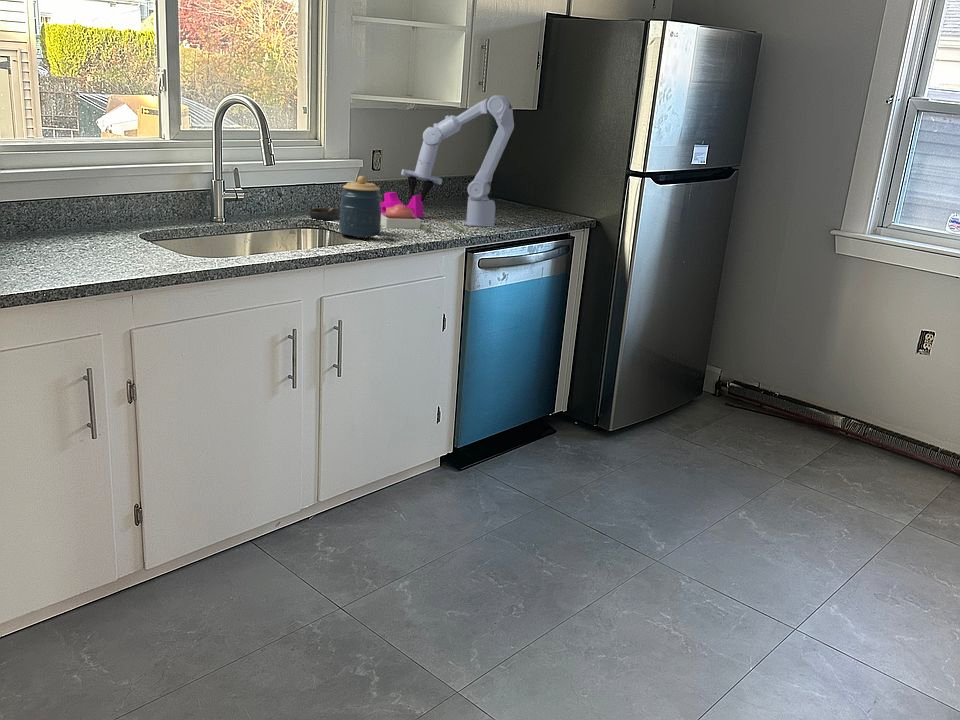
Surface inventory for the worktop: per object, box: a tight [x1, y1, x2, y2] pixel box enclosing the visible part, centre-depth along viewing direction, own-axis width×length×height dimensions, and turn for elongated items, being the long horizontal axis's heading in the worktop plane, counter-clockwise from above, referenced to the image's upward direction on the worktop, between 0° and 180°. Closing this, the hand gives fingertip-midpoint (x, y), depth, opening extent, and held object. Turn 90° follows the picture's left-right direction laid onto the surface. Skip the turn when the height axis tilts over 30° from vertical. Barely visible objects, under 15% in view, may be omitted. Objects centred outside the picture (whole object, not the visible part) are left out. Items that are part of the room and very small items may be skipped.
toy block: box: [380, 191, 424, 218], centre depth 312 cm, size 15×6×8 cm, turn 52°
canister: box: [338, 175, 383, 237], centre depth 270 cm, size 13×13×18 cm
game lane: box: [420, 215, 465, 233], centre depth 304 cm, size 13×34×1 cm, turn 20°
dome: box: [386, 204, 413, 219], centre depth 294 cm, size 9×9×6 cm
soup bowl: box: [306, 207, 340, 226], centre depth 298 cm, size 15×16×7 cm
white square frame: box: [381, 214, 422, 230], centre depth 295 cm, size 12×12×3 cm
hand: (415, 199), depth 309 cm, fingers closed on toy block, 4 cm apart
